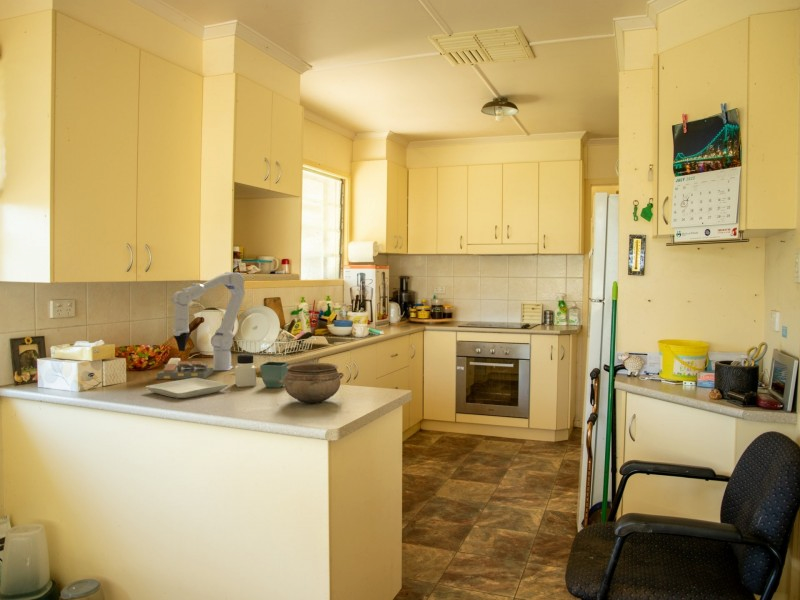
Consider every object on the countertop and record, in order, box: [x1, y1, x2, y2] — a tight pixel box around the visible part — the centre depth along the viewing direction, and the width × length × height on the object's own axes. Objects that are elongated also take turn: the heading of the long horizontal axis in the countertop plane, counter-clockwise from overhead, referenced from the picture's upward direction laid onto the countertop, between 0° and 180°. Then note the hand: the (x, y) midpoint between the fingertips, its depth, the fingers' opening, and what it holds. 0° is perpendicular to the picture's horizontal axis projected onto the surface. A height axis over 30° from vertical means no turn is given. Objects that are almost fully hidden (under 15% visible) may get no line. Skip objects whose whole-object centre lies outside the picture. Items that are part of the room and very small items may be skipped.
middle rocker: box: [178, 360, 192, 368], centre depth 263 cm, size 10×4×1 cm, turn 2°
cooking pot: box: [279, 362, 344, 405], centre depth 212 cm, size 25×19×12 cm
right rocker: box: [190, 360, 207, 368], centre depth 263 cm, size 10×4×1 cm, turn 3°
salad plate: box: [145, 378, 228, 399], centre depth 228 cm, size 21×21×3 cm
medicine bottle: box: [234, 353, 257, 388], centre depth 243 cm, size 7×7×12 cm
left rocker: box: [163, 357, 182, 372], centre depth 262 cm, size 10×4×1 cm, turn 3°
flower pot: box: [259, 361, 290, 389], centre depth 240 cm, size 9×9×9 cm
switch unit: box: [156, 364, 214, 380], centre depth 263 cm, size 14×19×5 cm
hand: (182, 351), depth 267 cm, fingers closed
